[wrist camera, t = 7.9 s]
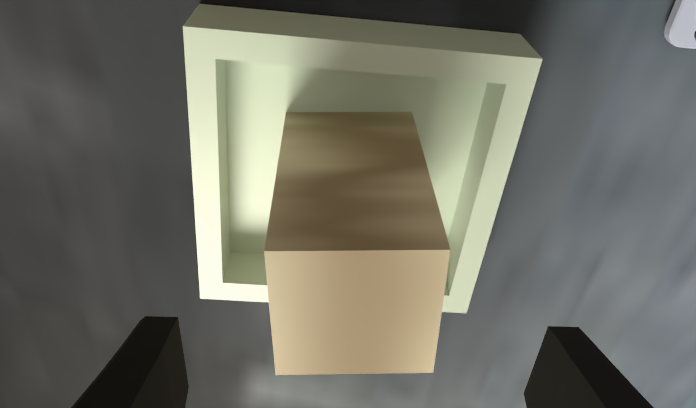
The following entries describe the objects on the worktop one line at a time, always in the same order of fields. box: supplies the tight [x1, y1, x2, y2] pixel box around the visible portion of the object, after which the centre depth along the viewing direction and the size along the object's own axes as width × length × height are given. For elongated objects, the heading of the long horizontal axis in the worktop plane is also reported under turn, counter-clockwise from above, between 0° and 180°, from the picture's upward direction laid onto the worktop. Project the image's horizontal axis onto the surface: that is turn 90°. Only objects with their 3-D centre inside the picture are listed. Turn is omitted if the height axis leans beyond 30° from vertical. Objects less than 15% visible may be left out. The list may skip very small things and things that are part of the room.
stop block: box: [264, 112, 450, 375], centre depth 16 cm, size 4×4×7 cm
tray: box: [183, 4, 543, 313], centre depth 18 cm, size 10×10×2 cm
